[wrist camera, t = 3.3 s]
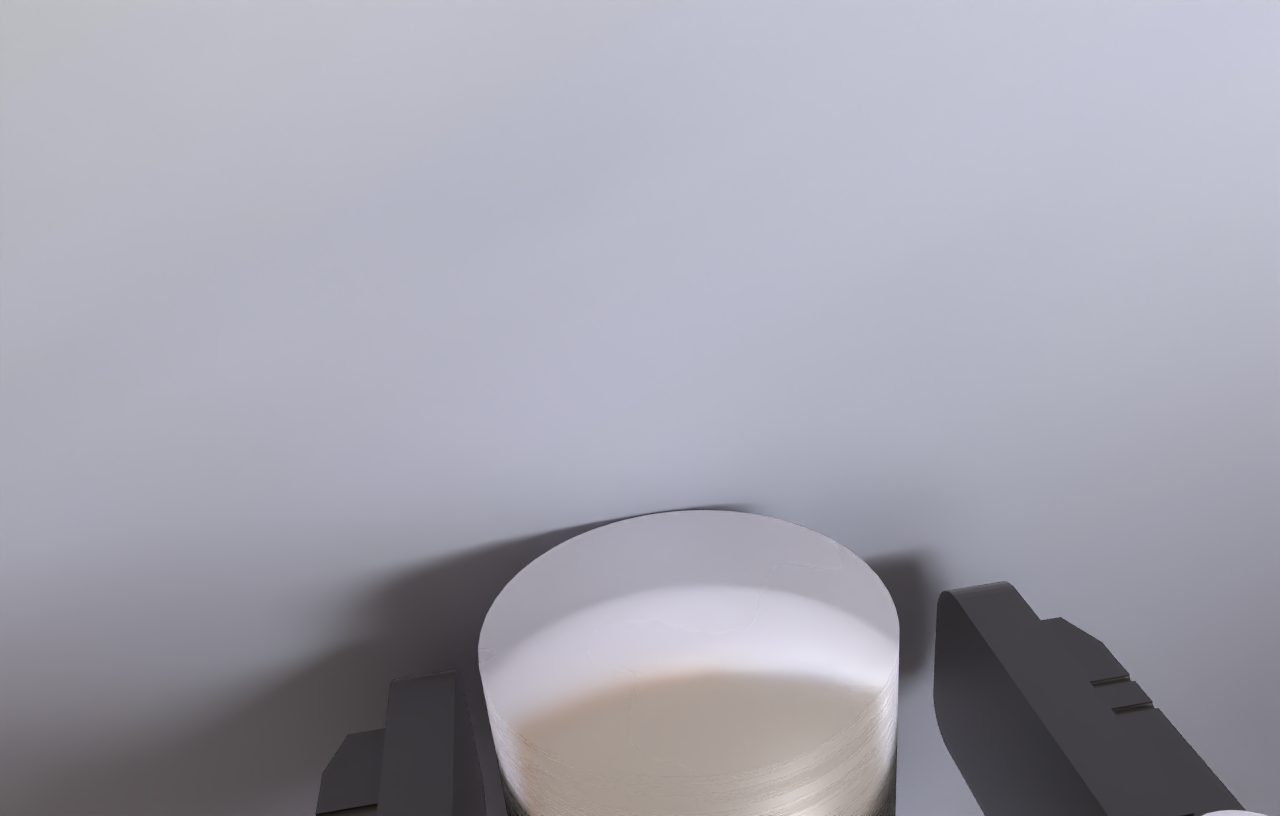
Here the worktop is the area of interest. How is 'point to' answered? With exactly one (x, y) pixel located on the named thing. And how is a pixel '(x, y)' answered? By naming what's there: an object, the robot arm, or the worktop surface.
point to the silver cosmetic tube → (694, 673)
